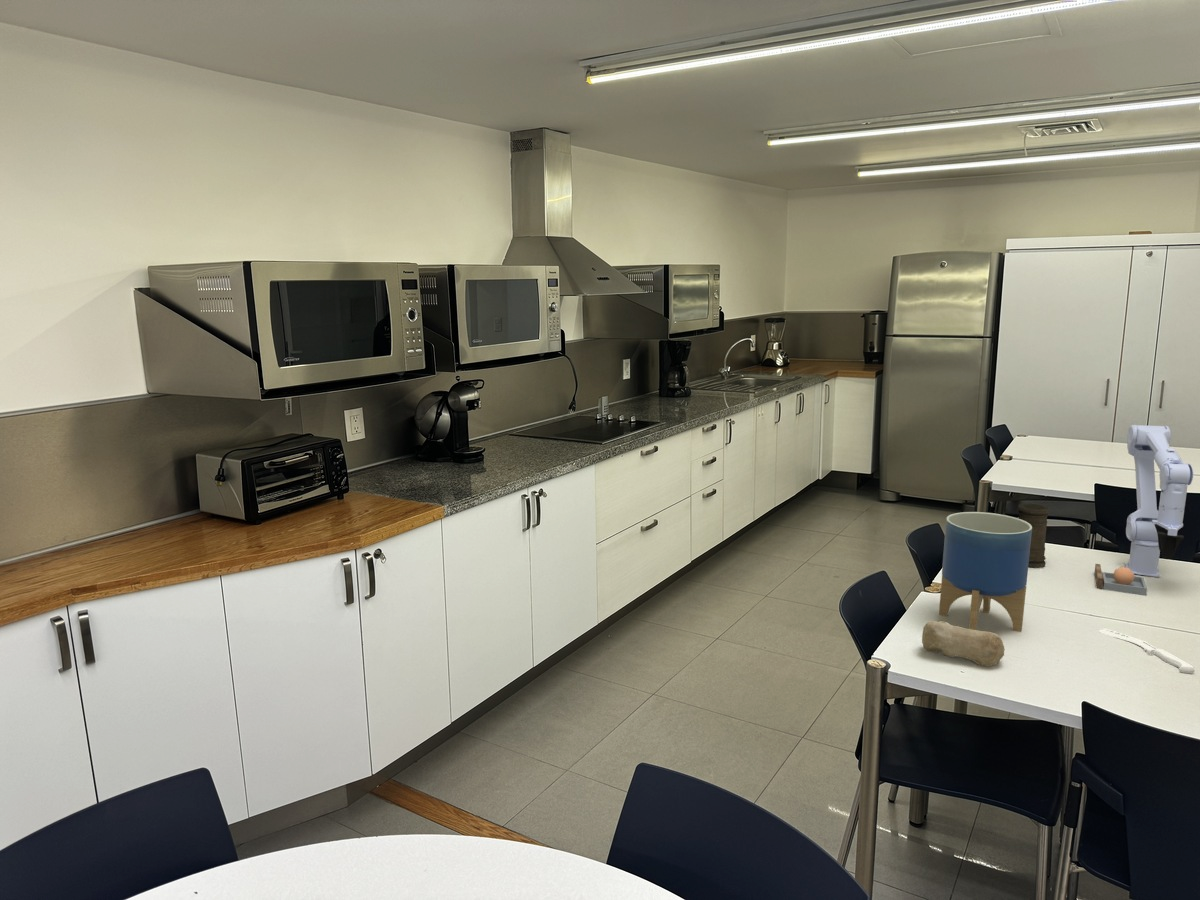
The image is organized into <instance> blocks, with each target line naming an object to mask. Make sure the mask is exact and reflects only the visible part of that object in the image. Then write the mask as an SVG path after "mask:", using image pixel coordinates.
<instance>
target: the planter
mask: <svg viewBox="0 0 1200 900" xmlns="http://www.w3.org/2000/svg"><path fill="white" fill-rule="evenodd" d="M1018 518H1019V517H1014V516H1010V515H1006V514H999V513H993V512H983V511H982V512H981V511H963V512H956V513H952V514H951V513H950V514H949V515H947V516H946V519H945V528H944V529H945V530H944V543H943V544H944V545H943V555H942V566H941V567H942V568H941V584H940V585H941V586H940V599H939V608H938V609H939V610H938V615H939V616H944V617H947V616H948V615H949V610H950V607H951V606H952V604H953V603H954V602H955V601H956V600H958V599H960V598H962V597H966V596H971V600H970V612H969V621H968V622H969V623H968V624H969V625H968V629H972V630H977V625H978V619H979V614H980V609H981V606H982V613H986V614H989V613H990V610H991V602H992V600H993V601H995V602H996V603H998V604H999V605H1001V606H1002V608H1004V609H1005V610H1006V612H1007V613H1008V615H1009V617H1010V619H1011V623H1012V631H1013V632H1018V633H1021V632H1022V631H1023V625H1024V624H1023V621H1024V613H1025V605H1026V593H1027V582H1028V574H1029V573H1028V571H1029V567H1028V564H1029V555H1030V545H1031V535H1032V526H1031V525H1030V524H1029V523H1028V522H1026V521H1023V520H1021V519H1018ZM982 603H983V605H982Z"/></svg>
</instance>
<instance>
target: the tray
mask: <svg viewBox="0 0 1200 900" xmlns="http://www.w3.org/2000/svg"><path fill="white" fill-rule="evenodd" d="M1113 574H1114V572H1113V573H1112V572H1105V571H1102V576H1103V584H1102V589H1103V590H1105V591H1110V592H1111V591H1112V592H1118V593H1125V594H1126V593H1127V594H1132V595H1133V594H1134V595H1140V596H1147V592H1148V590H1147V589H1148V588H1147V585H1146V581H1145V578H1144V577H1143V576H1137V575H1136V576H1135V575H1134V580H1133V582H1132V583H1131V584H1128V585H1122V584H1119V583H1117V582H1116V581H1115V580H1114V577H1113Z"/></svg>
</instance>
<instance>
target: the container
mask: <svg viewBox="0 0 1200 900" xmlns="http://www.w3.org/2000/svg"><path fill="white" fill-rule="evenodd" d="M1017 507H1018V517H1017V518H1018V519H1021V520H1023V521H1026V522H1028V523H1029V524H1030V525H1031V526H1032V535H1031V545H1030V555H1029V564H1028V569H1032V568H1033V569H1040V568H1045V566H1046V563H1047V562H1046V561H1045V560H1046V559H1047V558H1046V556H1045V552H1046V535H1047V527H1048V526H1047V525H1048V516H1049V512H1050V508H1049V507H1048V506H1046V505H1042V504H1036V503H1021V504H1019V505H1018V506H1017Z"/></svg>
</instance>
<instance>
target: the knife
mask: <svg viewBox="0 0 1200 900" xmlns="http://www.w3.org/2000/svg"><path fill="white" fill-rule="evenodd" d="M1103 628H1104V629H1103V630H1100V629H1101V628H1099V629H1098V630H1099V633H1101V634H1103V635H1106V636H1109V637H1112V638H1115V639H1119V640H1123V641H1125V642H1129V643H1132V644H1134V645H1137V646H1139V647H1140V648H1143V651H1144V652H1147V656H1156V657H1158V658H1159V659H1160V660H1161V661H1163V662H1165V663H1167V664H1169V665H1172V666H1173V667H1176V668H1178V671H1179V672H1180V673H1183V674H1194V673H1195V672H1196V671H1195V668H1194V666H1193V665H1191V664H1189V663H1188V662H1187V661H1185V660H1183V659H1181V658H1179V657H1177V656H1176V655H1174V654H1172V653H1170V652H1169V651H1166V650H1165V649H1163V648H1157V647H1155V646H1153V645H1152V644H1150V643H1149V642H1147V641H1145V640H1143V639H1139V638H1136V637H1133V636H1130V635H1127V634H1125V633H1121V632H1118V631H1115V630H1112V629H1109V628H1105V627H1103ZM1107 630H1108V631H1107Z"/></svg>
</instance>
